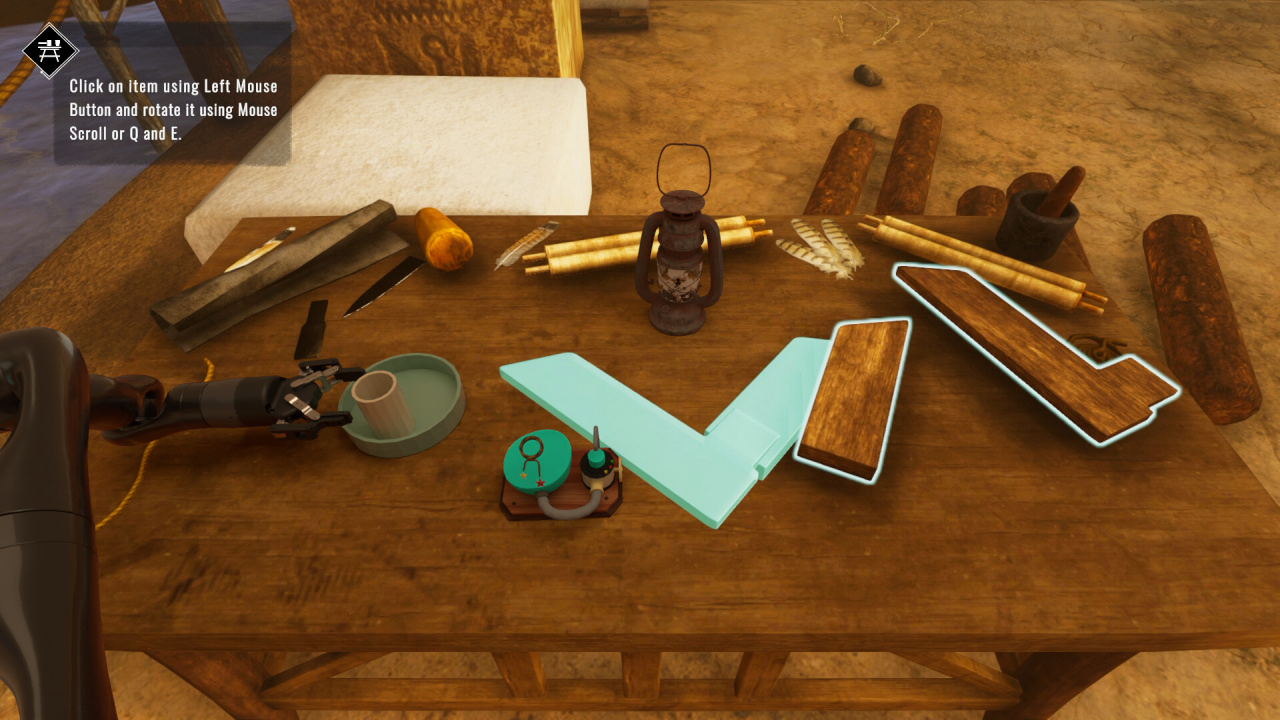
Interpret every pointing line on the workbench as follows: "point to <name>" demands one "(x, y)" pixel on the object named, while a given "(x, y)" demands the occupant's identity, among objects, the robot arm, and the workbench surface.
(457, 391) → the bowl
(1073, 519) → the workbench surface
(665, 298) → the lantern
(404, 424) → the cup
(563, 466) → the contraption on wooden base
